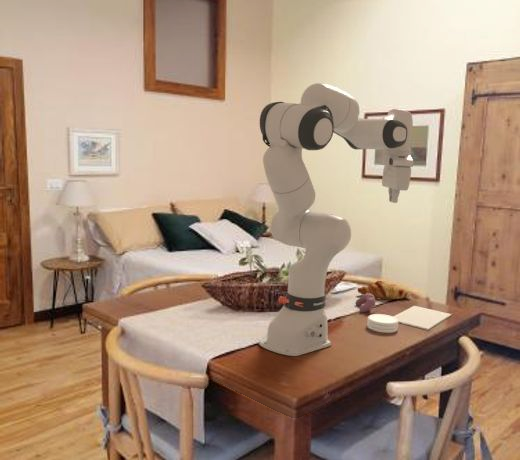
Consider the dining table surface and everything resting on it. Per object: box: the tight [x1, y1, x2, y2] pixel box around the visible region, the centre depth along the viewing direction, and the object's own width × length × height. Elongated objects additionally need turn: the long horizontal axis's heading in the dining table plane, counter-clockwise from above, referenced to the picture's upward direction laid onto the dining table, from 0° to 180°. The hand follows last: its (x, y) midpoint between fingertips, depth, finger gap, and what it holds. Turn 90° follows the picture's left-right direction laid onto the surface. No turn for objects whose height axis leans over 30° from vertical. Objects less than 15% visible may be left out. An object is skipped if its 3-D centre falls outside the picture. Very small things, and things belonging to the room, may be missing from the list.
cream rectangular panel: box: [393, 305, 452, 331], centre depth 182 cm, size 22×14×1 cm, turn 141°
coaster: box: [366, 313, 399, 334], centre depth 170 cm, size 10×10×4 cm
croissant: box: [357, 280, 412, 300], centre depth 207 cm, size 21×10×8 cm, turn 86°
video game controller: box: [355, 293, 376, 313], centre depth 190 cm, size 10×5×7 cm, turn 0°
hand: (393, 202), depth 171 cm, fingers closed
